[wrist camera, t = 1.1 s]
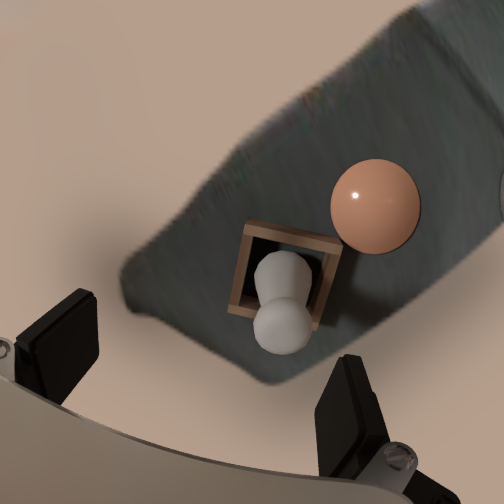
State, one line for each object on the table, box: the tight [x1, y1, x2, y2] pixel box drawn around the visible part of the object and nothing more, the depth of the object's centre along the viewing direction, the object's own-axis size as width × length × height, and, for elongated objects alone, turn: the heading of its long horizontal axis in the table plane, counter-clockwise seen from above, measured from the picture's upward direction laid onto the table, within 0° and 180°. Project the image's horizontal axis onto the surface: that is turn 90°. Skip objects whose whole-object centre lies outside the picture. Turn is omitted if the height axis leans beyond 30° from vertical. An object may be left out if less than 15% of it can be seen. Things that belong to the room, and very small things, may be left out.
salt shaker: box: [253, 250, 312, 355], centre depth 28 cm, size 6×6×13 cm
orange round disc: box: [330, 159, 420, 254], centre depth 31 cm, size 10×10×1 cm
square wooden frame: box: [227, 218, 343, 331], centre depth 32 cm, size 10×10×3 cm
